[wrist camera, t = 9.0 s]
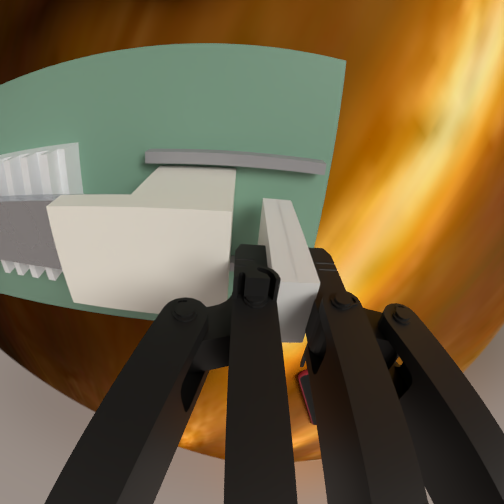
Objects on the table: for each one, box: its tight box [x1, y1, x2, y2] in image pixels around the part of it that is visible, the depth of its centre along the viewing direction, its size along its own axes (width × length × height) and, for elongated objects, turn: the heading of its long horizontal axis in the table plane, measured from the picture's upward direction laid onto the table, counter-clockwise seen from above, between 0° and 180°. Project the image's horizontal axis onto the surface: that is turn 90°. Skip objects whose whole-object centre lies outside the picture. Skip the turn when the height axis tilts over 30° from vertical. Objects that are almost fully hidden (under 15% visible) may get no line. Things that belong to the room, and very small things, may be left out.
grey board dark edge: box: [0, 194, 131, 269], centre depth 12 cm, size 17×4×1 cm, turn 85°
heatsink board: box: [0, 43, 346, 320], centre depth 13 cm, size 18×28×6 cm, turn 85°
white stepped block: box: [46, 166, 236, 314], centre depth 13 cm, size 5×8×6 cm, turn 85°
